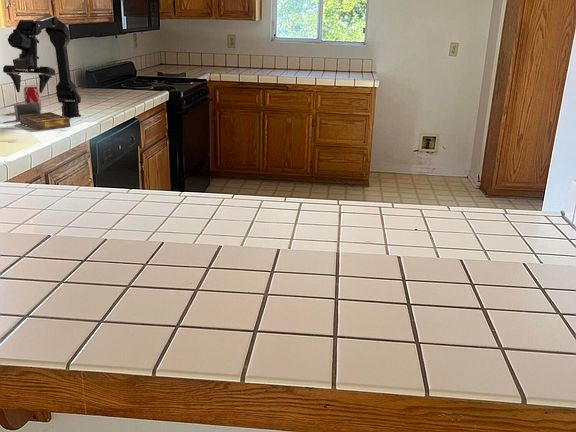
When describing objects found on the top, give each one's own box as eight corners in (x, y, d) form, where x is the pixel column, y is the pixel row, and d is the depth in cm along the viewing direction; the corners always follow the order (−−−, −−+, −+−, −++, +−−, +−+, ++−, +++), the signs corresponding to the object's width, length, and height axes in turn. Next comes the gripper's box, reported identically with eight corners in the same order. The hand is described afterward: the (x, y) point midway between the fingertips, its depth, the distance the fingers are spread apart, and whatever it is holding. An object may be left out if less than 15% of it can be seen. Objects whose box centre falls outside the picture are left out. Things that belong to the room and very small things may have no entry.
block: (38, 117, 257) (36, 102, 254) (41, 118, 255) (39, 103, 252) (16, 120, 250) (13, 104, 247) (18, 121, 248) (16, 105, 246)
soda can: (36, 112, 267) (33, 87, 263) (23, 112, 268) (19, 86, 264) (45, 110, 273) (42, 85, 269) (32, 109, 275) (28, 84, 270)
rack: (51, 120, 252) (50, 111, 250) (70, 126, 240) (69, 117, 238) (20, 123, 243) (19, 115, 241) (38, 130, 231) (37, 121, 229)
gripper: (-6, 47, 215) (-5, 89, 217) (41, 49, 214) (42, 91, 216) (10, 53, 226) (11, 92, 228) (55, 54, 225) (55, 94, 227)
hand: (29, 92), depth 224 cm, fingers open, 9 cm apart
